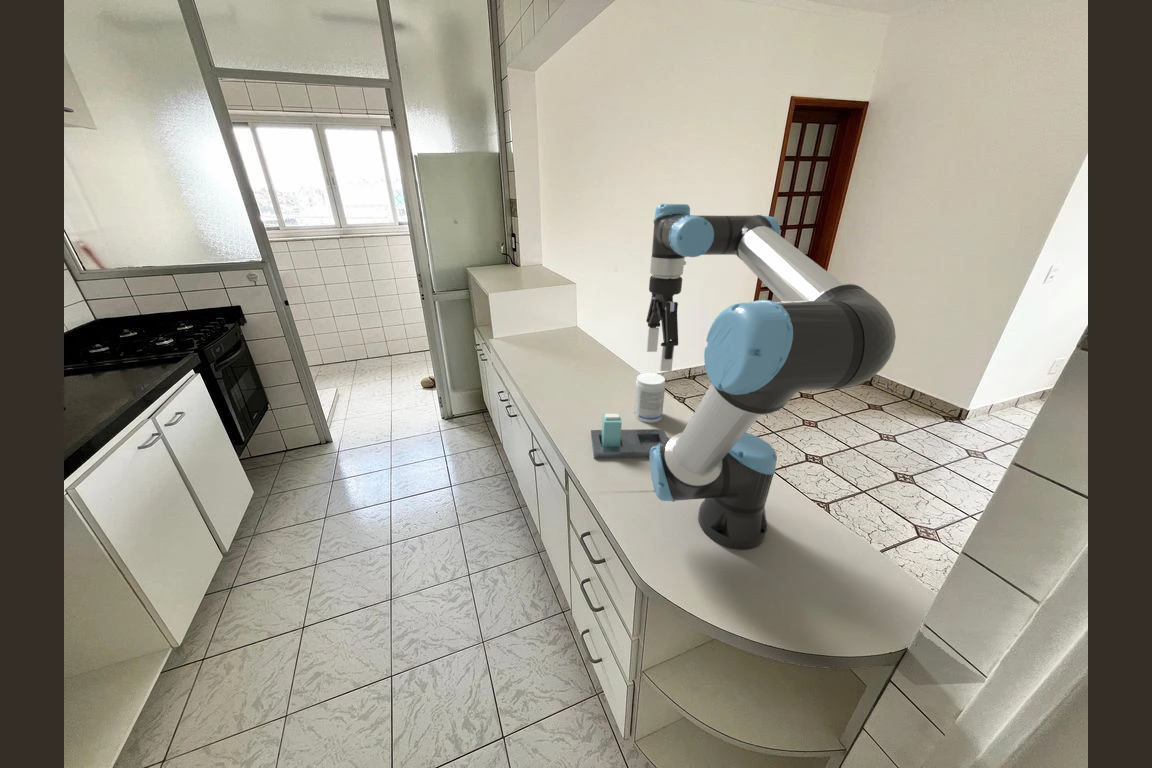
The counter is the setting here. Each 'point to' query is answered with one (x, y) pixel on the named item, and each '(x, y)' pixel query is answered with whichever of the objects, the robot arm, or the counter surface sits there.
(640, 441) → the grey socket board
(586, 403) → the counter surface
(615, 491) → the counter surface
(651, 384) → the supplement tub
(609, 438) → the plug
